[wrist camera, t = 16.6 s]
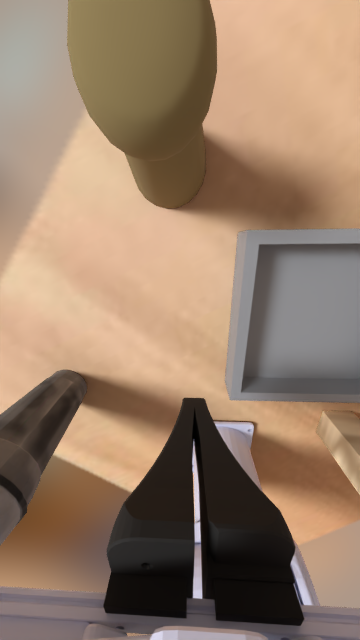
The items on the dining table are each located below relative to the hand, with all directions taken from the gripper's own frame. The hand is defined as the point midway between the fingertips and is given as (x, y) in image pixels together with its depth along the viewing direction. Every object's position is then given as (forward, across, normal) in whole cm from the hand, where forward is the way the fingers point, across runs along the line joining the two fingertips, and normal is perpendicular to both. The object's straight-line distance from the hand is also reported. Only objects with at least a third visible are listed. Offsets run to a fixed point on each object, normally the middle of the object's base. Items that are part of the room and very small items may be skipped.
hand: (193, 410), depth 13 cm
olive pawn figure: (+10, +2, -16) cm, 19 cm away
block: (+9, -18, +11) cm, 23 cm away
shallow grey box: (+9, -15, -3) cm, 18 cm away
